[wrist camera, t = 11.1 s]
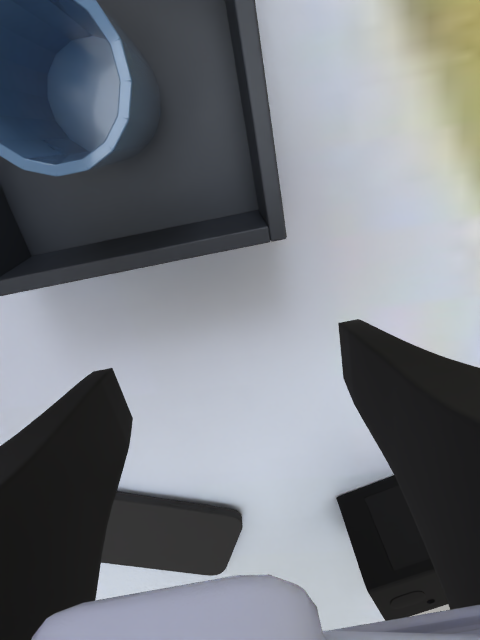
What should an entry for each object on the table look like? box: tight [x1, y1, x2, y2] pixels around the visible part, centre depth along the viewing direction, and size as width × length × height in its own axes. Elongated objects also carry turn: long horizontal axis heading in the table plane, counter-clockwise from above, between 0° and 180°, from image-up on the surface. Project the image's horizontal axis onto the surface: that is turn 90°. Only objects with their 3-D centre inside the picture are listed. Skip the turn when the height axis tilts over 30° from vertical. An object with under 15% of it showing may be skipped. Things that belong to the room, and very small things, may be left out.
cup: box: [0, 0, 161, 177], centre depth 14 cm, size 5×5×7 cm
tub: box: [0, 0, 287, 296], centre depth 16 cm, size 13×13×4 cm
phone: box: [101, 492, 242, 575], centre depth 29 cm, size 7×1×15 cm
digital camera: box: [337, 476, 448, 621], centre depth 27 cm, size 10×5×7 cm, turn 116°
